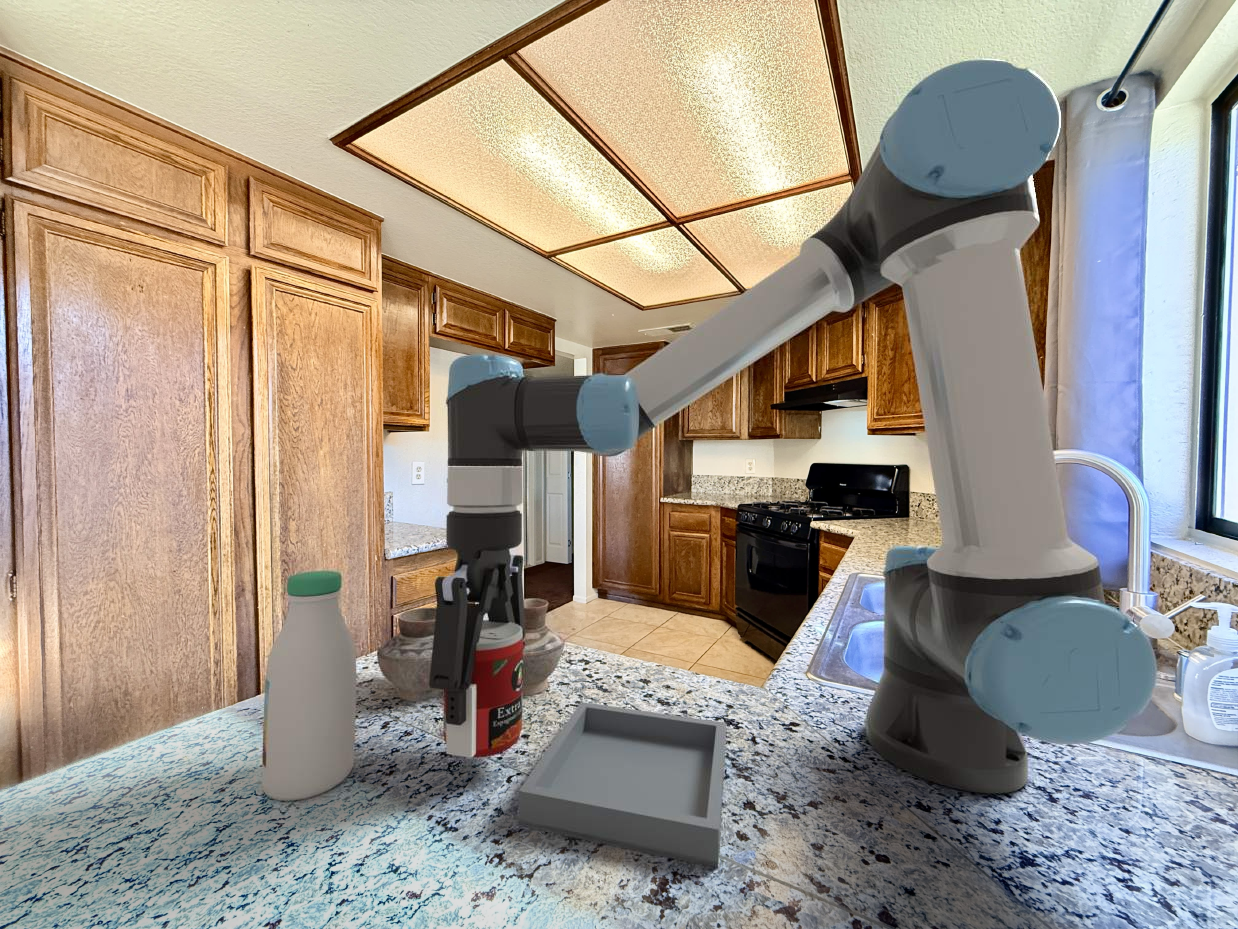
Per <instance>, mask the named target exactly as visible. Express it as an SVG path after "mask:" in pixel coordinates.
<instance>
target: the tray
mask: <svg viewBox="0 0 1238 929" xmlns="http://www.w3.org/2000/svg"><path fill="white" fill-rule="evenodd" d="M726 736H727V722H723V721H717V720H710V719H709V720H708V719H703V718H695V717H688V716H681V715H676V714H675V715H674V714H666V713H660V712H655V711H654V712H653V711H645V710H639V709H633V708H631V709H630V708H625V707H616V706H611V705H604V704H597V703H591V702H590V703H589V702H583V701H580V703H579V704H578V706H577V707H576V709H575V710H574V711H573V713H572V714H571V716H569V719H568V720H567V721H566V723H565V724H564V726H563V727H562V729H560V731H559V733H558V734H557V735H556V737H555V738H554V739H553V741H552V743H551V744H550V746H549V747H548V748H547V750H546V751H545V753H544V754H543V755H542V757H541V758H540V760H539V761H538V763H537V764H536V766H535V767H534V769H533V770H532V771H531V772H530V773H529V776H528V777H527V778H526V780H525V781H524V782H523V784H522V785H521V787H520V788H519V790H518V796H517V797H518V803H517V804H518V805H517V807H518V808H517V826H518V827H522V828H526V829H532V830H535V831H540V832H541V831H542V832H546V833H550V834H555V835H559V836H565V837H570V838H575V839H579V840H584V841H589V842H594V843H597V844H603V845H606V846H612V847H616V848H621V849H627V850H631V851H634V852H639V853H644V854H645V853H646V854H650V855H655V856H659V857H663V858H669V859H674V860H677V861H681V862H683V861H684V862H688V863H693V864H696V865H701V866H706V867H710V868H715V869H719V862H720V861H719V860H720V859H719V858H720V842H721V830H722V829H721V827H722V814H723V813H722V811H723V798H724V797H723V796H724V782H725V781H724V780H725V779H724V778H725V764H726V762H725V761H726V747H727V746H726V742H727V740H726V739H727V737H726ZM723 781H724V782H723ZM722 797H723V798H722ZM721 813H722V814H721ZM720 829H721V830H720Z"/></svg>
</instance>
